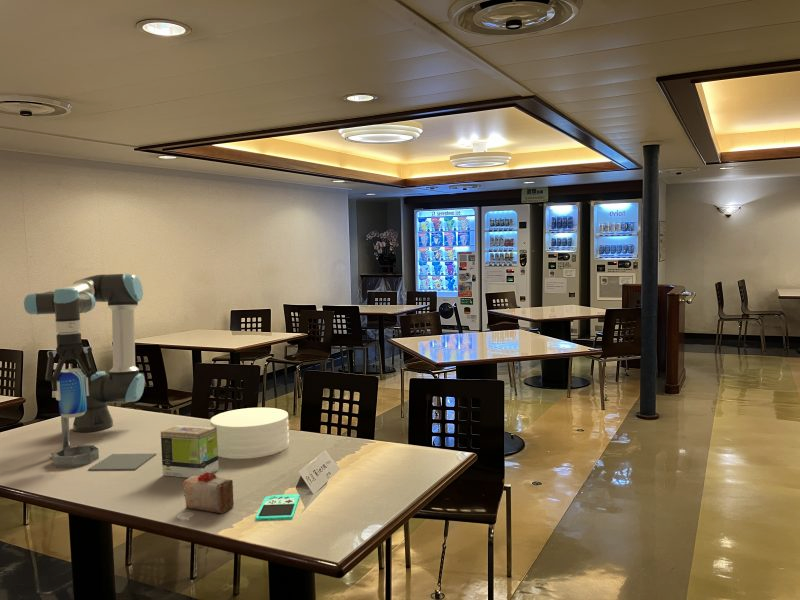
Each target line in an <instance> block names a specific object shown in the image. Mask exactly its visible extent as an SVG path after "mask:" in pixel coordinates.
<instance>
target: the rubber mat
mask: <svg viewBox="0 0 800 600" xmlns="http://www.w3.org/2000/svg"><path fill="white" fill-rule="evenodd" d="M156 456H157V453H111V454H110V455H109V456H107V457H105V458H104V459H102V460H101V461H99V462H98V463H96V464H94V465H92V466H91V467H89V468H88V469H87V470H88V471H136V470H138V469H139V468H140V467H142V466H143V465H145V464H146V463H147V462H149V461H150V460H151V459H153V458H154V457H156Z"/></svg>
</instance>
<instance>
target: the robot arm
mask: <svg viewBox="0 0 800 600" xmlns="http://www.w3.org/2000/svg"><path fill="white" fill-rule="evenodd" d="M143 295H144V291H143V285H142V282H141V280H140V278H139V277H138V276H137V274H133V273H117V274H116V273H115V274H113V273H112V274H96V275H95V274H94V275H91V276H87V277H84V278H81V279H77V280H75V281H74V282H73V283H72V284H69V285H66V286H63V287H58V288H56V289H53V290H49V291H46V292H40V293H37V292H34V293H28V294H27V295H25V297H24V300H23V307H24V308H23V309H24V310H25V312H26V313H27V314H29V315H36V316H38V315H52V314H54V315H55V319H54V320H55V332H56V348H55V349H54V350H48V351H47V352H46V354H47V363H46V371H45V377H44V378H45V380H46V381H49V382H51V387H52V388H51V389H52V391H53V392H55V400H56V401H59V400H61V396H60V381H58V380H57V379H58V377H59V374H60V372H61V370H63V366H64V364H65V363H66V361H69V360H75V361H76V362H77V364H78V365H79V367H80V369H81V371H82V372H83V373H84V375H85V387H86V404H87V411H86V412H85V414H84V415H82V416H79V417H74V419H73V423H72V430H73V431H74V432H77V433H89V432H98V431H102V430H106V429H109V428H111V427H113V426H114V422H113V421H114V420H113V417H112V414H111V413H110V410H109V407H108V403H130V402H137V401H139V400H140V399H141V397H142V396H143V393H144V389H145V386H146V385H145V384H146V383H145V381H146V379H145V375H144V374H143V373H140V368H139V367H137V366H136V343H135V342H136V341H135V340H136V338H135V337H136V336H135V309H136V308H137V307H138V305H139V303H138V302H140V301H142V300H143ZM97 303H107V307H108V308H109V309H111V323H112V325H111V330H112V331H111V332H112V333H111V335H112V368H111V369H109V372H108V373H109V374H107V372H106V371H105V370H101V371H97V369H96V366H95V362H94V358H93V355H92V351H93V349H92V347H90V346H83V344H82V333H81V332H80V331H81V329H82V328H81V314H86V313H88V312H90V311H92V310H93V309H94V308H95V306H96V304H97ZM82 352H83V353H85V357H86V361H87V364H88V367H89V369H88V367H87V365H86V364H85V363H84V361H83V357H82V356H81V354H82ZM56 354H57V355H58V356H59V359H58V362H57V364H56V367H55V369H54V372H53V367H54V361H55V360H54V358H55V357H56Z"/></svg>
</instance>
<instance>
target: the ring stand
mask: <svg viewBox="0 0 800 600" xmlns="http://www.w3.org/2000/svg"><path fill="white" fill-rule="evenodd" d="M69 420H70V418H64V417H62V415H61V414H60V421H61V422H60V423H61V435H62V437H61V439H62V447H61V448H59V449H57V450H55V451H53V452H51V460H52V465H54V466H55V468H57V469H58V468H76V467H80V466H85V465H89V464H92V463H93V462H95V461H97V460H99V459H100V454H99V448H98V447H96V446H95V445H94V444H92V445H75V446H71V437H70V434H71V433H70V422H69Z"/></svg>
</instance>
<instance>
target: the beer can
mask: <svg viewBox="0 0 800 600" xmlns="http://www.w3.org/2000/svg"><path fill="white" fill-rule="evenodd" d="M57 380H58V381H60V396H61V400H58V408H59V409H58V410H59V414H60V416H61V415H62V417H64V418H69V419H73V418H75V417H79V416H82V415H84V414H85V412H86V411H87V404H86V387H85V375H84V372H83V370H82V369H81V367H80V368H77V367H75V368H74V367H73V368H66V369H61V372H60V374H59V377H58V379H57Z"/></svg>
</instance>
